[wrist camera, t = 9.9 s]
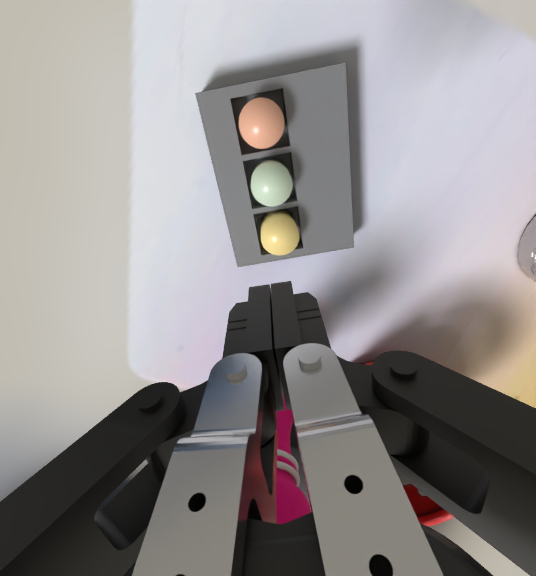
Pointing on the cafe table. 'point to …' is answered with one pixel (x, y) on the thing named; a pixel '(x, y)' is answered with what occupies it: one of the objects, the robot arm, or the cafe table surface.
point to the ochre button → (279, 232)
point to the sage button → (271, 182)
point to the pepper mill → (287, 474)
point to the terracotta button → (261, 123)
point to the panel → (286, 160)
